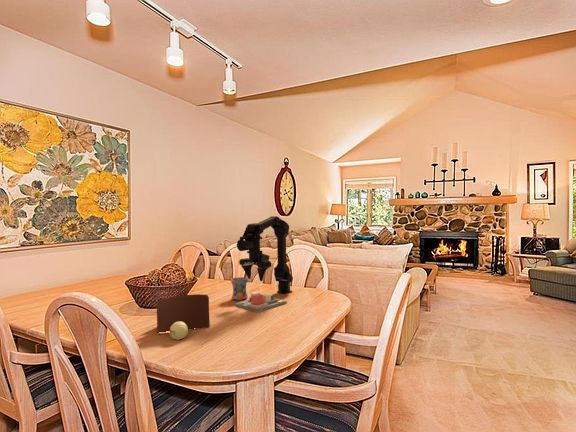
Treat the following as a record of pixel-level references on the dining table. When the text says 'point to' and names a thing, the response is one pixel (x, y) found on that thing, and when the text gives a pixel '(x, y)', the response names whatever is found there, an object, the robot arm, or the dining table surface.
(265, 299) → the switch
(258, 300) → the red block
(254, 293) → the switch
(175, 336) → the tennis ball
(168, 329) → the letter holder
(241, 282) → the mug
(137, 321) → the dining table surface
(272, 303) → the breaker panel
